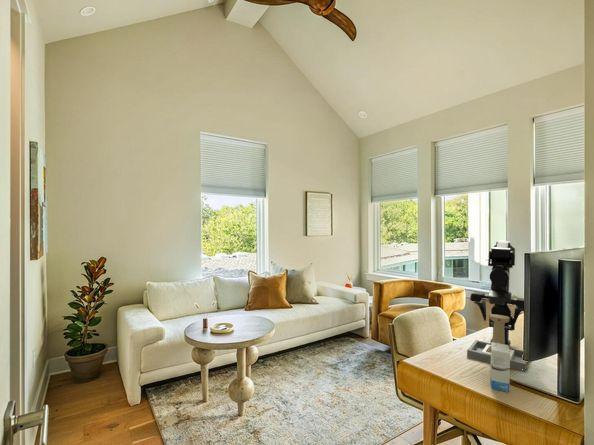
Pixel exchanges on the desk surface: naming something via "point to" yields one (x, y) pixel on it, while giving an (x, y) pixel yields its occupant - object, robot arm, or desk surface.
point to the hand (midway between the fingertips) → (498, 323)
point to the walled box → (484, 353)
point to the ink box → (500, 367)
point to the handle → (499, 327)
